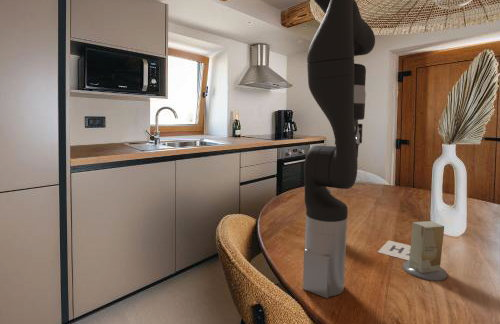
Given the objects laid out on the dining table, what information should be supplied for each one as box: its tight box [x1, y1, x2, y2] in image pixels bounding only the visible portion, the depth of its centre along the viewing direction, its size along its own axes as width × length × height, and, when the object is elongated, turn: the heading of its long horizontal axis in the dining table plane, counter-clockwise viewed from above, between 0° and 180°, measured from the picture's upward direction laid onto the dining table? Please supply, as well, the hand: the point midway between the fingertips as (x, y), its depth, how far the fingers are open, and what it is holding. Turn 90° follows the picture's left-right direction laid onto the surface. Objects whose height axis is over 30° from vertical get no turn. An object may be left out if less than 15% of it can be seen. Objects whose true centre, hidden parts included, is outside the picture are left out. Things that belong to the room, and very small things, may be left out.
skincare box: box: [409, 220, 445, 273], centre depth 77 cm, size 6×4×12 cm
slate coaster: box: [402, 260, 448, 282], centre depth 78 cm, size 10×10×1 cm
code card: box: [377, 239, 411, 261], centre depth 90 cm, size 12×12×1 cm
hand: (348, 159), depth 86 cm, fingers open, 8 cm apart
